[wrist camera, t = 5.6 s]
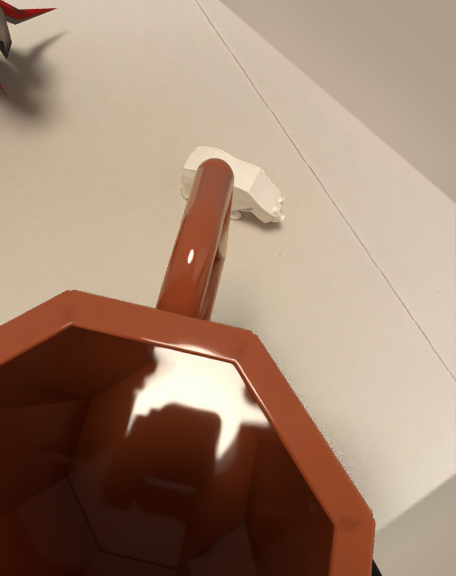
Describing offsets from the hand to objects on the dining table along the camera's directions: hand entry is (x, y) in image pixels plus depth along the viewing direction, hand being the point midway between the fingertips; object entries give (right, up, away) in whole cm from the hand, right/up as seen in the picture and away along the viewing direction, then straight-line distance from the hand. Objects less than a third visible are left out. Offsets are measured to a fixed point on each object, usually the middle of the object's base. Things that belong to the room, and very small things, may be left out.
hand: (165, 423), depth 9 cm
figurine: (+2, +10, +17) cm, 20 cm away
